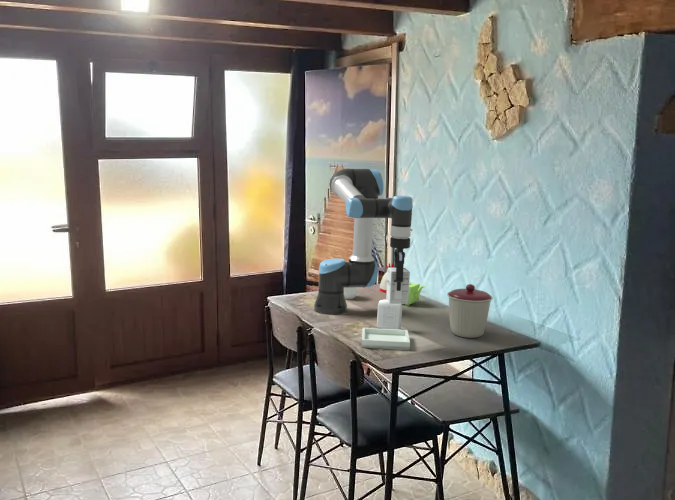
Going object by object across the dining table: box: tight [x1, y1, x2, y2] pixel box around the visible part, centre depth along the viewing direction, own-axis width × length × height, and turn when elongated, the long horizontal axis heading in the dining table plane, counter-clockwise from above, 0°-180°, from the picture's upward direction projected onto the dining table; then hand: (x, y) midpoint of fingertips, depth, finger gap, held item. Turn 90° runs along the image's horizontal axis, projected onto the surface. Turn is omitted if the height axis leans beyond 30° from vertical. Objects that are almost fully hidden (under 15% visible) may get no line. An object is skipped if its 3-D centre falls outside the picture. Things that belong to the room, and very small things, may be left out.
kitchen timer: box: [379, 262, 394, 294], centre depth 331 cm, size 14×14×15 cm
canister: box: [447, 283, 494, 339], centre depth 257 cm, size 18×18×21 cm
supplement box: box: [385, 267, 411, 305], centre depth 241 cm, size 7×7×13 cm
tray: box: [361, 327, 411, 351], centre depth 244 cm, size 18×16×3 cm
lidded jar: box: [344, 287, 360, 300], centre depth 313 cm, size 11×11×9 cm
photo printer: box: [376, 298, 403, 330], centre depth 262 cm, size 10×4×12 cm, turn 72°
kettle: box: [404, 281, 426, 307], centre depth 306 cm, size 15×14×11 cm
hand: (397, 295), depth 241 cm, fingers closed on supplement box, 8 cm apart
